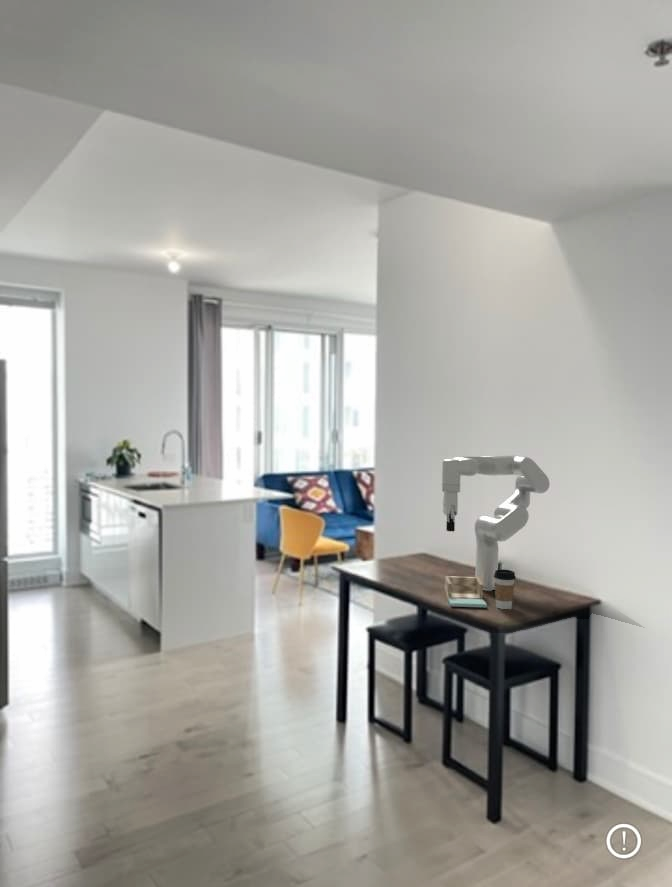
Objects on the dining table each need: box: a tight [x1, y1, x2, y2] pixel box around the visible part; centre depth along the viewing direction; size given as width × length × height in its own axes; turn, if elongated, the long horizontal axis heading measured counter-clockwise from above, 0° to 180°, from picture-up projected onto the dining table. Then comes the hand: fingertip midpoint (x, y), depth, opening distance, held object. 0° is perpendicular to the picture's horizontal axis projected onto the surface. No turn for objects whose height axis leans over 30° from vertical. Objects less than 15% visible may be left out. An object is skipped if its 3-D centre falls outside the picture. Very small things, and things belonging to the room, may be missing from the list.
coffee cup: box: [494, 569, 517, 609], centre depth 266 cm, size 8×8×15 cm
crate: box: [444, 575, 484, 600], centre depth 281 cm, size 14×12×7 cm
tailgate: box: [447, 598, 488, 608], centre depth 270 cm, size 14×1×9 cm
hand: (450, 530), depth 287 cm, fingers closed
